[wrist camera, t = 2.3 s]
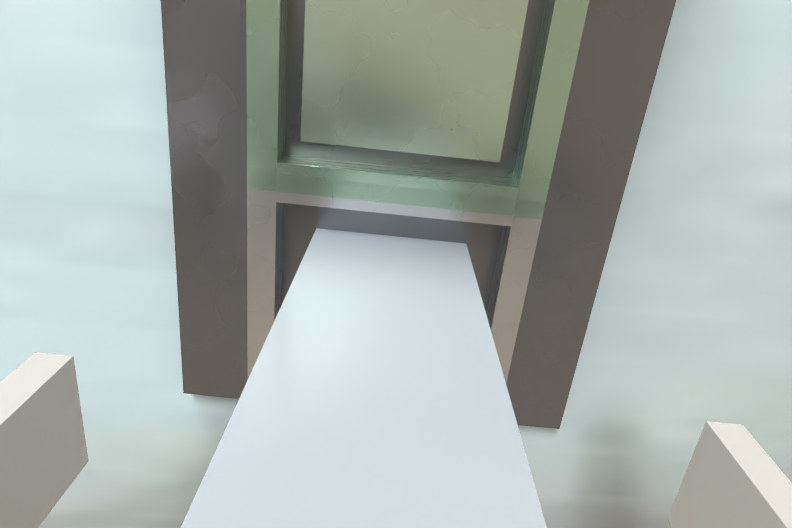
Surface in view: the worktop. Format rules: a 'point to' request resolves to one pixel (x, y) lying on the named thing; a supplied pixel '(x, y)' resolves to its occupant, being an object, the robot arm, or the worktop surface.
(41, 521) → the robot arm
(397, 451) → the plug
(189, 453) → the worktop surface
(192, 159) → the panel
